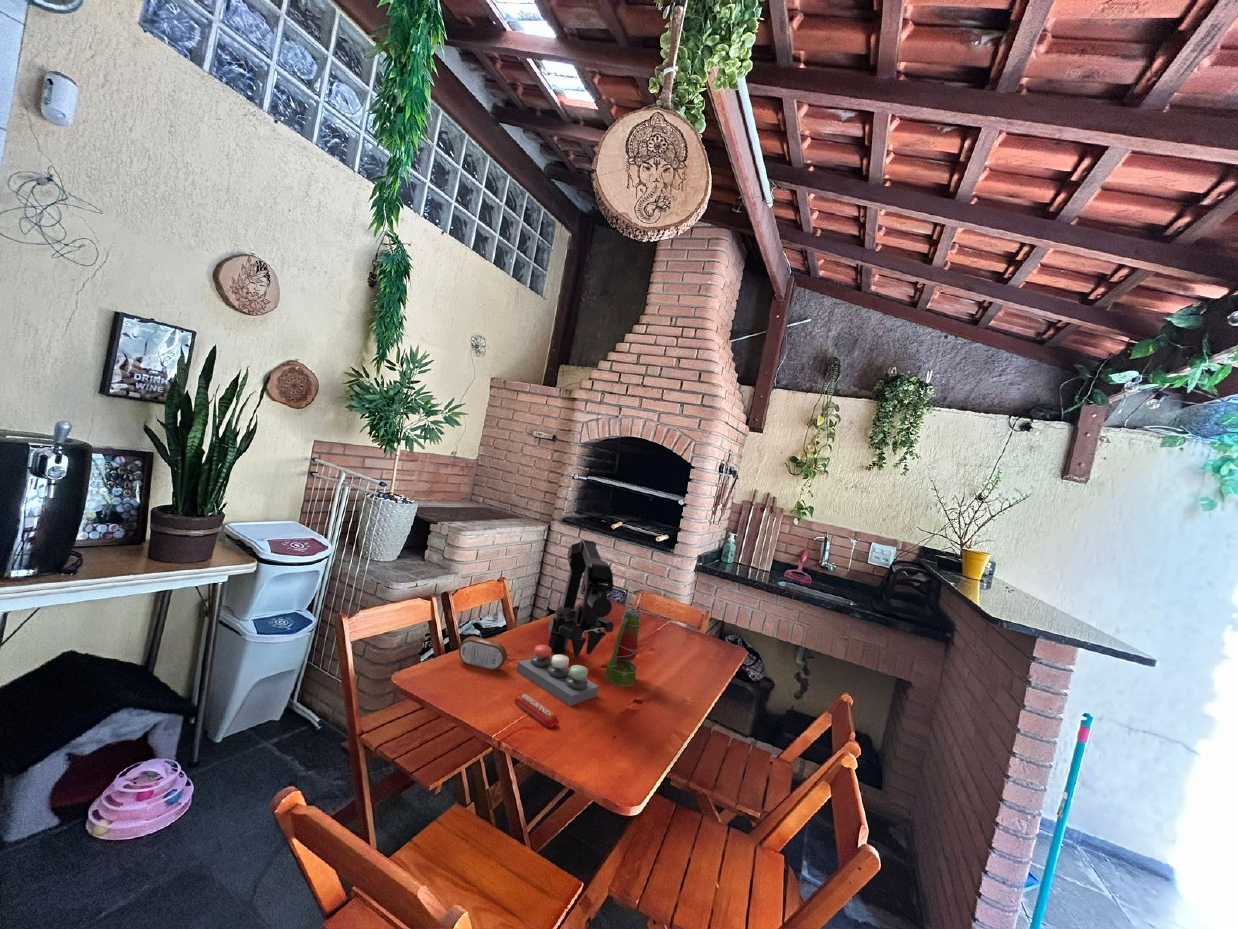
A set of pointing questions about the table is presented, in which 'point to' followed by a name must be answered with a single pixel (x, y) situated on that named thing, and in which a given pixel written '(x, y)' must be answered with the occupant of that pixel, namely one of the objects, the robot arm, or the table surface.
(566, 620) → the robot arm
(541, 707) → the candy bar
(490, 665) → the tin
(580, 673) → the green button
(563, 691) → the button panel
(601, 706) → the table surface
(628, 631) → the lantern
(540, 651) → the red button
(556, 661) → the white button
